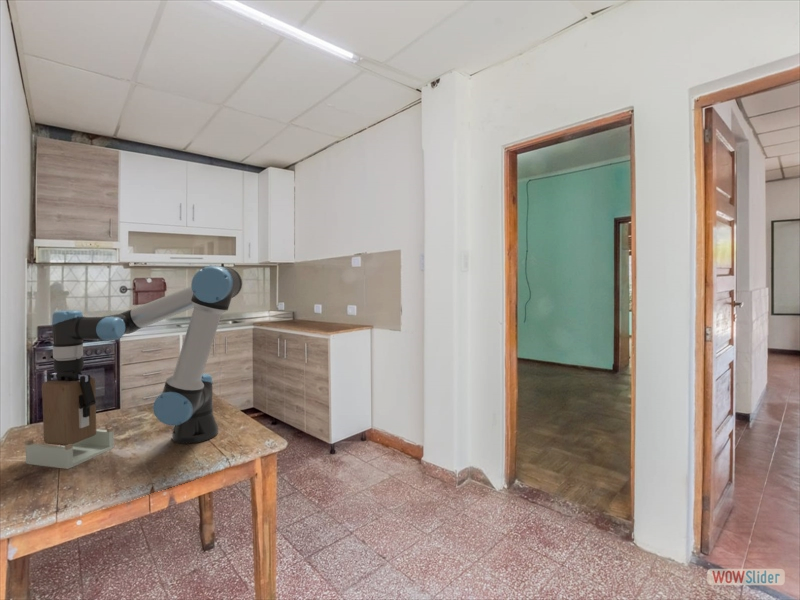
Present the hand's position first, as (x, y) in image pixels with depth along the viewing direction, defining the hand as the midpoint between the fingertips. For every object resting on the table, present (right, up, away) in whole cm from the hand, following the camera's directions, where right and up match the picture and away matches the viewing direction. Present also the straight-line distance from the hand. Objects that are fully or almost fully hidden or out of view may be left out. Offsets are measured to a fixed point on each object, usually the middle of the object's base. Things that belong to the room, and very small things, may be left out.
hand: (70, 425), depth 130 cm
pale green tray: (0, -10, +1) cm, 10 cm away
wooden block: (0, -5, 0) cm, 5 cm away
